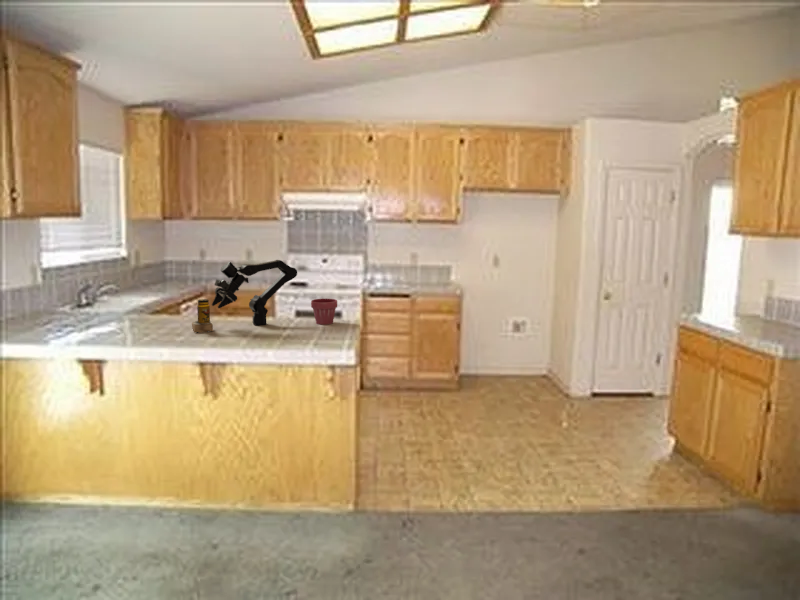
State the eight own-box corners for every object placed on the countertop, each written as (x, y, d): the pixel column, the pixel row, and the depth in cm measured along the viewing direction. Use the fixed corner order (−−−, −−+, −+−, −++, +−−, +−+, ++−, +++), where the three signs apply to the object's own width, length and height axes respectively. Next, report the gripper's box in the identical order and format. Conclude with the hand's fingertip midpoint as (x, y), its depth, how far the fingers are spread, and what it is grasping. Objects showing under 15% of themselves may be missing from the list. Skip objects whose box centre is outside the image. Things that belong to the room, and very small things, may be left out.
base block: (210, 328, 341) (209, 320, 340) (212, 331, 333) (212, 323, 332) (192, 329, 337) (191, 321, 336) (194, 332, 329) (194, 325, 328)
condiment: (209, 324, 331) (208, 300, 329) (192, 324, 330) (191, 300, 329) (212, 321, 338) (211, 298, 337) (195, 321, 338) (194, 298, 336)
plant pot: (314, 326, 349) (313, 302, 347) (309, 321, 362) (308, 298, 360) (340, 324, 353) (340, 301, 352) (334, 320, 367) (334, 297, 365)
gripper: (217, 272, 345) (198, 294, 340) (230, 275, 330) (209, 299, 325) (232, 285, 351) (213, 307, 346) (245, 289, 335) (225, 313, 331)
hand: (215, 306), depth 337 cm, fingers open, 9 cm apart
